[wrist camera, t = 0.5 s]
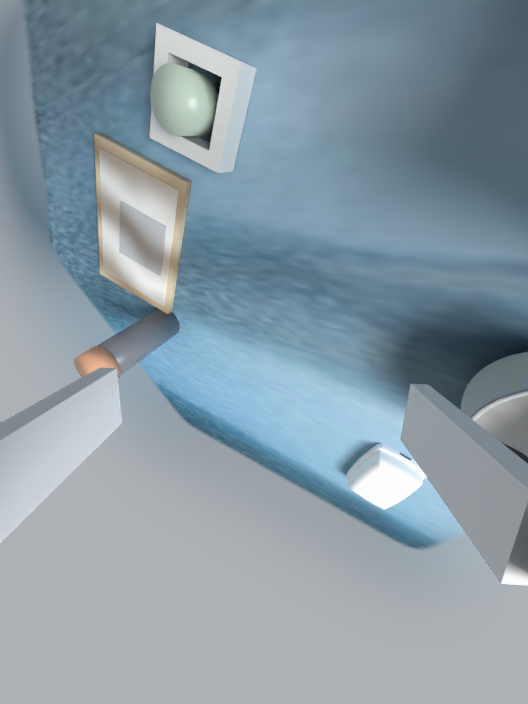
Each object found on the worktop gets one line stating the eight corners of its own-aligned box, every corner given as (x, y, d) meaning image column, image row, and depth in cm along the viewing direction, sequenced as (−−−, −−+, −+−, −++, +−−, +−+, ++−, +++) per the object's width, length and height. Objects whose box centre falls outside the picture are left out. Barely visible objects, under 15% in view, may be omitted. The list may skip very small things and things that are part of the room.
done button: (180, 62, 23) (152, 53, 21) (224, 83, 22) (201, 76, 20) (173, 124, 25) (148, 123, 23) (213, 144, 25) (191, 145, 23)
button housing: (178, 32, 23) (156, 23, 21) (256, 68, 22) (240, 61, 20) (168, 138, 28) (149, 137, 26) (233, 171, 27) (218, 173, 25)
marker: (155, 301, 40) (72, 348, 30) (182, 317, 39) (105, 370, 30) (153, 325, 42) (76, 375, 33) (177, 340, 42) (106, 395, 33)
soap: (379, 437, 36) (375, 456, 34) (432, 468, 35) (432, 490, 33) (343, 471, 42) (339, 489, 40) (388, 498, 41) (386, 518, 39)
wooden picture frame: (100, 133, 30) (91, 133, 30) (191, 181, 29) (184, 182, 28) (104, 271, 41) (98, 274, 40) (171, 311, 39) (166, 315, 39)
